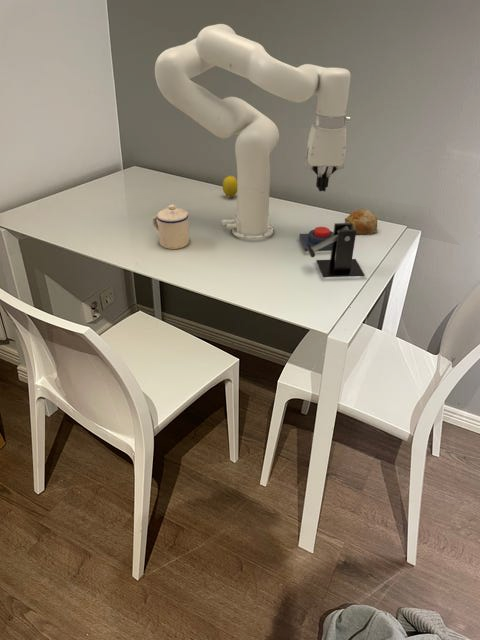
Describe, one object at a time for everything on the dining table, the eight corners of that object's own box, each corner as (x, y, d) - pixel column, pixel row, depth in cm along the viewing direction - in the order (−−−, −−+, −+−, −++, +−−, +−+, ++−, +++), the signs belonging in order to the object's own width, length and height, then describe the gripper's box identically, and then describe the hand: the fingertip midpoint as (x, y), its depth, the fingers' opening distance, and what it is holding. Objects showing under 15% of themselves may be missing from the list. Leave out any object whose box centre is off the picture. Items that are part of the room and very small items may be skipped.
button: (315, 238, 142) (316, 233, 141) (312, 232, 145) (313, 226, 144) (330, 238, 142) (331, 232, 141) (327, 231, 145) (327, 226, 144)
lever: (312, 260, 128) (309, 252, 126) (308, 250, 132) (305, 243, 131) (354, 239, 125) (350, 231, 124) (348, 230, 130) (345, 222, 128)
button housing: (304, 254, 141) (305, 241, 139) (299, 240, 149) (300, 228, 147) (342, 253, 142) (344, 240, 140) (335, 239, 150) (336, 227, 147)
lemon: (222, 194, 180) (222, 173, 175) (237, 194, 180) (237, 172, 175) (223, 200, 175) (222, 178, 170) (238, 200, 175) (238, 177, 171)
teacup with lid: (196, 240, 148) (194, 203, 141) (177, 252, 142) (174, 214, 135) (164, 231, 153) (161, 195, 147) (145, 242, 147) (141, 205, 140)
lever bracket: (322, 280, 129) (328, 235, 122) (315, 263, 137) (320, 220, 129) (364, 278, 130) (371, 234, 123) (354, 262, 137) (361, 219, 130)
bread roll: (369, 247, 153) (384, 226, 148) (340, 231, 152) (355, 210, 147) (368, 234, 161) (383, 214, 156) (341, 219, 160) (355, 198, 155)
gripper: (354, 118, 132) (344, 185, 143) (299, 117, 131) (293, 184, 142) (361, 125, 126) (350, 194, 136) (303, 124, 125) (297, 194, 136)
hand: (321, 189), depth 139 cm, fingers closed
